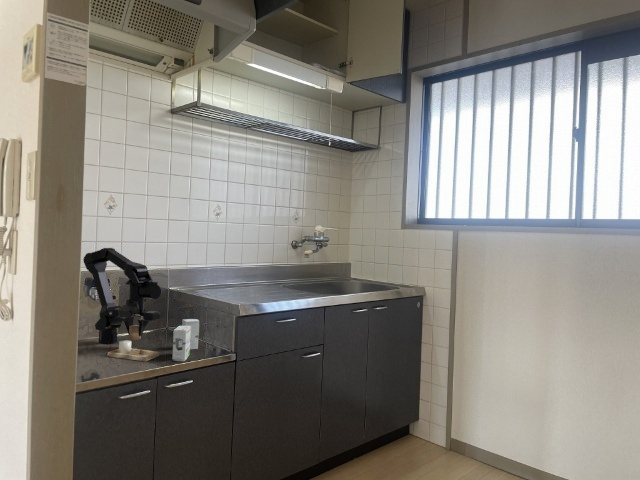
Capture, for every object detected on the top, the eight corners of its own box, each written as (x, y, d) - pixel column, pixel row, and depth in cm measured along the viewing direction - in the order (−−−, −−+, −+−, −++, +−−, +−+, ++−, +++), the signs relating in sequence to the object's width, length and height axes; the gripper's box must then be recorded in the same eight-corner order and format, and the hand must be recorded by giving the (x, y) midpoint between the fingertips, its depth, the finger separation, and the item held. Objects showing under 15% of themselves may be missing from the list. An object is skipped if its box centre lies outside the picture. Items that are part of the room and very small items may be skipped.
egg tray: (107, 357, 183) (107, 352, 183) (122, 352, 191) (122, 347, 191) (145, 363, 179) (145, 357, 179) (159, 357, 187) (159, 352, 187)
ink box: (177, 354, 192) (178, 324, 192) (190, 355, 192) (191, 325, 192) (171, 360, 183) (173, 329, 183) (185, 361, 184) (186, 330, 183)
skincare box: (183, 351, 198) (185, 321, 197) (180, 348, 201) (181, 319, 201) (198, 349, 201) (199, 320, 201) (194, 347, 205) (196, 318, 205)
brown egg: (126, 339, 195) (127, 326, 195) (133, 336, 199) (134, 324, 199) (136, 340, 194) (136, 327, 194) (143, 338, 198) (143, 325, 198)
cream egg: (115, 355, 185) (116, 342, 185) (123, 352, 189) (124, 339, 189) (126, 356, 184) (126, 343, 183) (133, 353, 188) (133, 341, 188)
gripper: (102, 297, 191) (101, 336, 191) (144, 301, 186) (143, 342, 186) (121, 293, 201) (120, 331, 202) (161, 297, 197) (159, 336, 197)
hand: (135, 335), depth 196 cm, fingers closed on brown egg, 4 cm apart
